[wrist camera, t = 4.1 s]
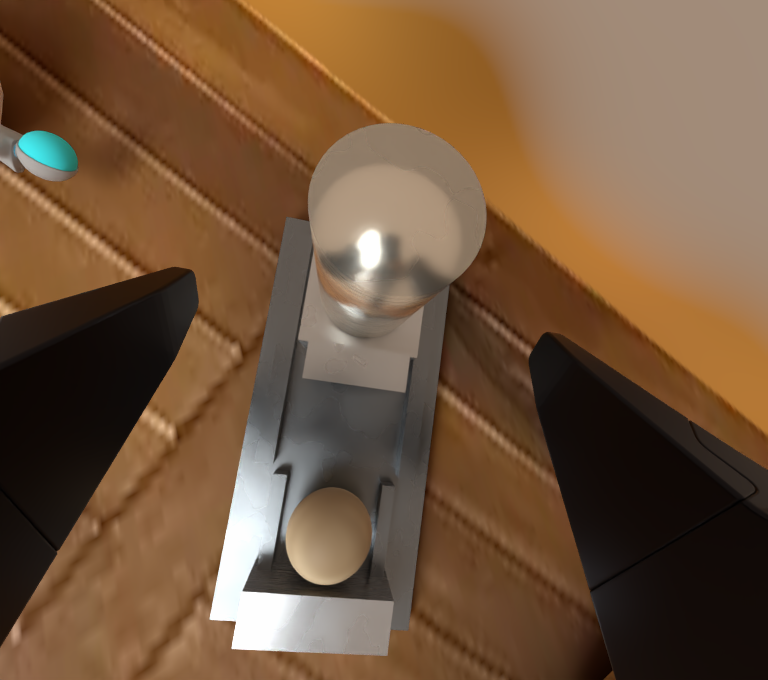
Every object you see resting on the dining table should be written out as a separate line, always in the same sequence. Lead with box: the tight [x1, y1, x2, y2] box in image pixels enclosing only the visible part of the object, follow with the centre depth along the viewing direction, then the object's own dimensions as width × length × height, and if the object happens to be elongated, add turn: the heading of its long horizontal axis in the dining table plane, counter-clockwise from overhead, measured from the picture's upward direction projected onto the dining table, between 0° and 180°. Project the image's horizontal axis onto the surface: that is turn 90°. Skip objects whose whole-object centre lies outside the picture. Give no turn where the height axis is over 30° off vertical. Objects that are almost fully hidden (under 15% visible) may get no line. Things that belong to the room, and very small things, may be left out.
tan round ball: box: [286, 487, 372, 585], centre depth 15 cm, size 4×4×4 cm
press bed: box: [210, 217, 450, 656], centre depth 17 cm, size 19×9×4 cm, turn 172°
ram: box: [298, 123, 487, 393], centre depth 13 cm, size 6×5×10 cm
